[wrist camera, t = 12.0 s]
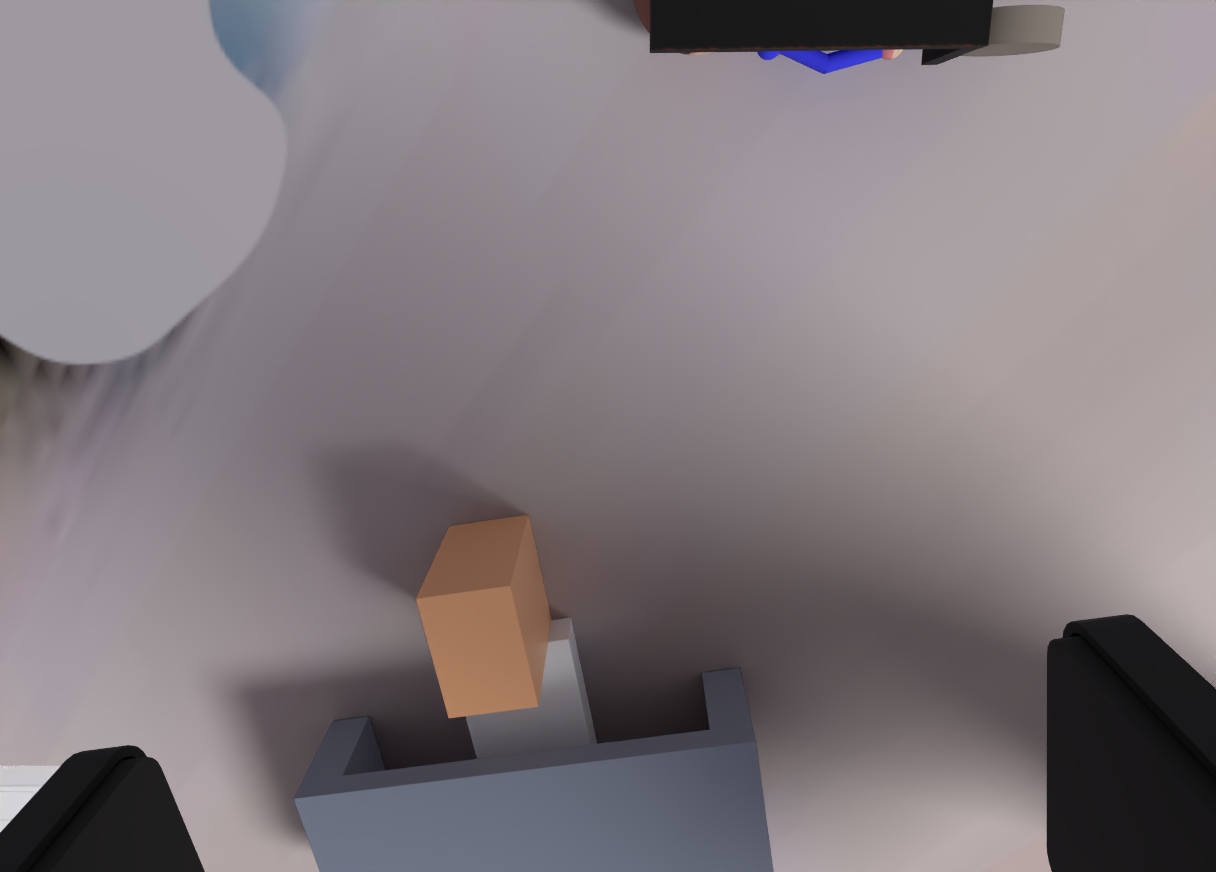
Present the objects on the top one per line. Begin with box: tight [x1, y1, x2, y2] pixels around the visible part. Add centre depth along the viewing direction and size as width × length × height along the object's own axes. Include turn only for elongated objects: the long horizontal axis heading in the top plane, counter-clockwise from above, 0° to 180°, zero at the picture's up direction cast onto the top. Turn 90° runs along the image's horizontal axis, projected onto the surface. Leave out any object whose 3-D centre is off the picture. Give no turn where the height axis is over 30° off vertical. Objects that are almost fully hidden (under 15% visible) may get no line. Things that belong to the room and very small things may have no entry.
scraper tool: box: [416, 515, 597, 759], centre depth 42 cm, size 6×23×7 cm, turn 9°
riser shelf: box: [294, 668, 773, 872], centre depth 43 cm, size 22×10×6 cm, turn 100°
